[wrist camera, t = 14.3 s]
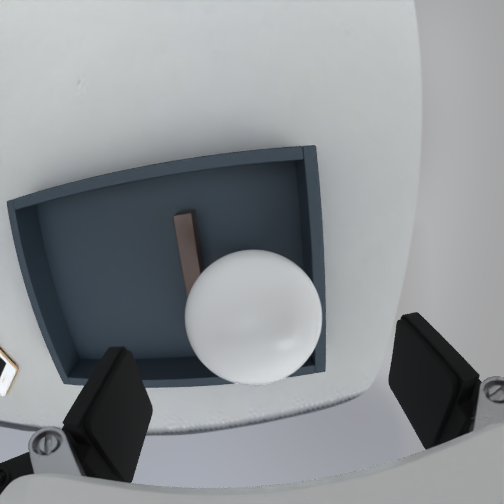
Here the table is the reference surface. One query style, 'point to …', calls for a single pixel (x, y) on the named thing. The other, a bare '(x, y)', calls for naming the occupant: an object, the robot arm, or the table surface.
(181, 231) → the strip
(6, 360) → the cell phone
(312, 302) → the lightbulb
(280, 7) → the table surface
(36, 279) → the tray
